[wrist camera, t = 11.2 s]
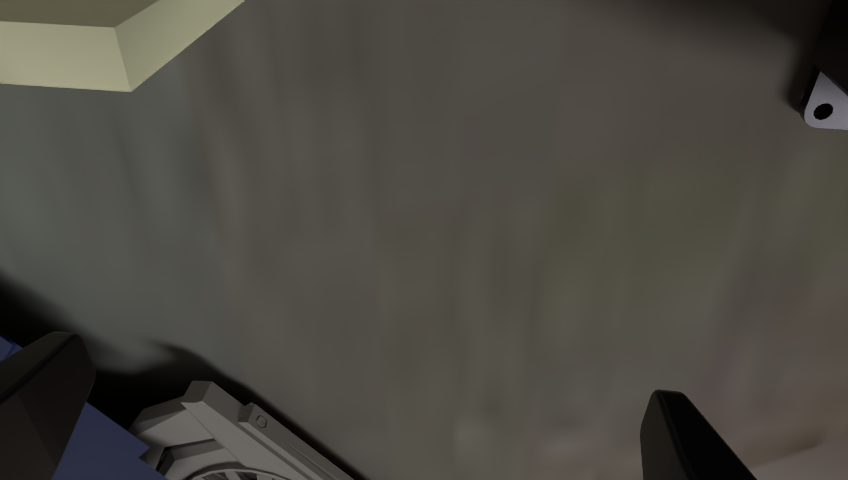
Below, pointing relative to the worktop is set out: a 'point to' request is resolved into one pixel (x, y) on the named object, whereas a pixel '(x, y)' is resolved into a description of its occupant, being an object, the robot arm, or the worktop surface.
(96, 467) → the navy flat panel
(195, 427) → the graphics card
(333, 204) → the worktop surface
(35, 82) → the equipment case
